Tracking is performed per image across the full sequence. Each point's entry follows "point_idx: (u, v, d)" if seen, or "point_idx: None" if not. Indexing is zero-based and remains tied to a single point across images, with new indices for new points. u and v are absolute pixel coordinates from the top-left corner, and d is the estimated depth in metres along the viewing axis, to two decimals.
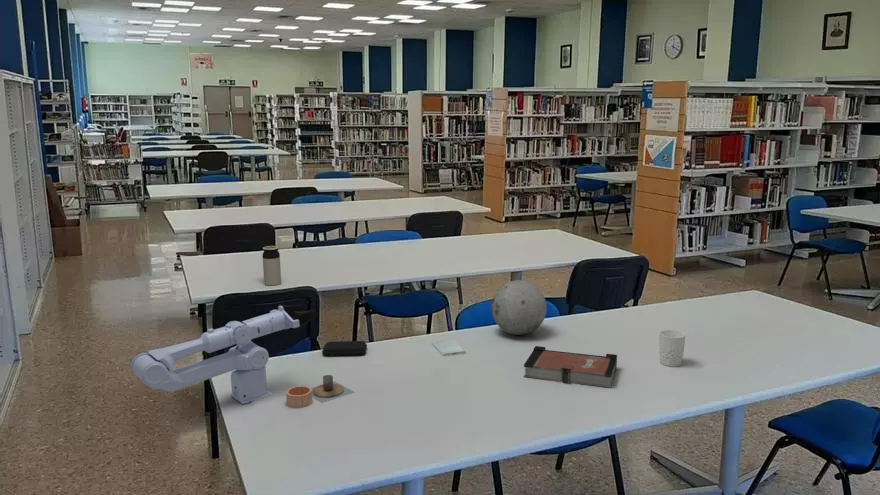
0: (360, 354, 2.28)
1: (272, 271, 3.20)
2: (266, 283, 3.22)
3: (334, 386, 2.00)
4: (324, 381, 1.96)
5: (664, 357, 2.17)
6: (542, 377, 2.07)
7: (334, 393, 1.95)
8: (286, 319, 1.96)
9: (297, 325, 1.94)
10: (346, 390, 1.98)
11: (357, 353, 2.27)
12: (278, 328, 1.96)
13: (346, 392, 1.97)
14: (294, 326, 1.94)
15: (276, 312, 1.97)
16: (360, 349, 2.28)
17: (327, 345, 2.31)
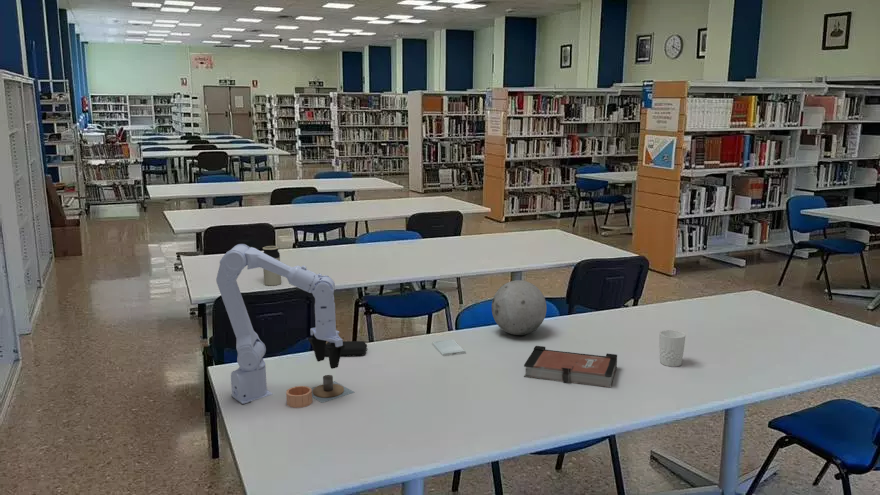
0: (359, 354, 2.27)
1: None
2: (266, 283, 3.22)
3: (334, 386, 2.00)
4: (324, 381, 1.96)
5: (664, 357, 2.17)
6: (543, 377, 2.07)
7: (334, 393, 1.95)
8: (333, 336, 1.92)
9: (338, 344, 1.89)
10: (346, 390, 1.98)
11: (357, 353, 2.27)
12: (325, 328, 1.91)
13: (346, 392, 1.97)
14: (338, 341, 1.88)
15: None
16: (360, 349, 2.27)
17: None
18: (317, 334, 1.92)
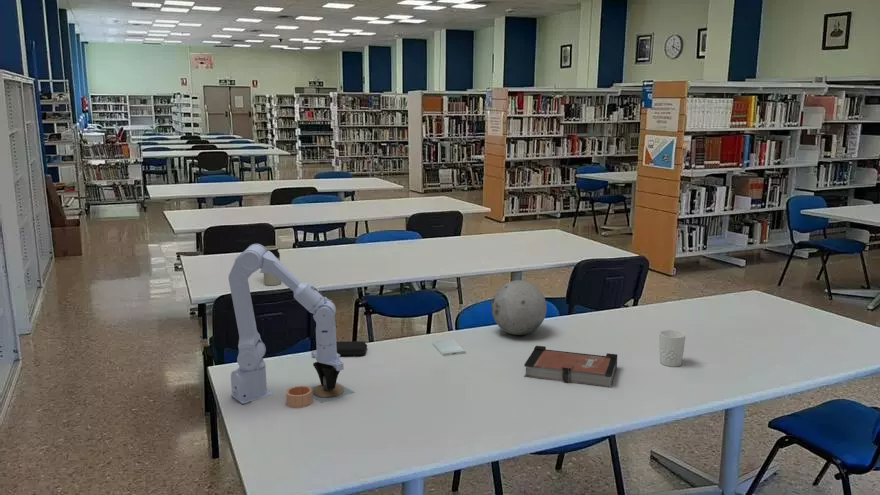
0: (359, 354, 2.27)
1: None
2: (266, 283, 3.22)
3: None
4: (324, 381, 1.96)
5: (664, 357, 2.17)
6: (543, 376, 2.07)
7: (334, 393, 1.95)
8: (334, 359, 1.94)
9: (339, 368, 1.90)
10: (346, 390, 1.98)
11: (357, 353, 2.27)
12: (326, 352, 1.92)
13: (346, 392, 1.97)
14: (338, 365, 1.90)
15: None
16: (360, 349, 2.27)
17: None
18: (318, 358, 1.94)
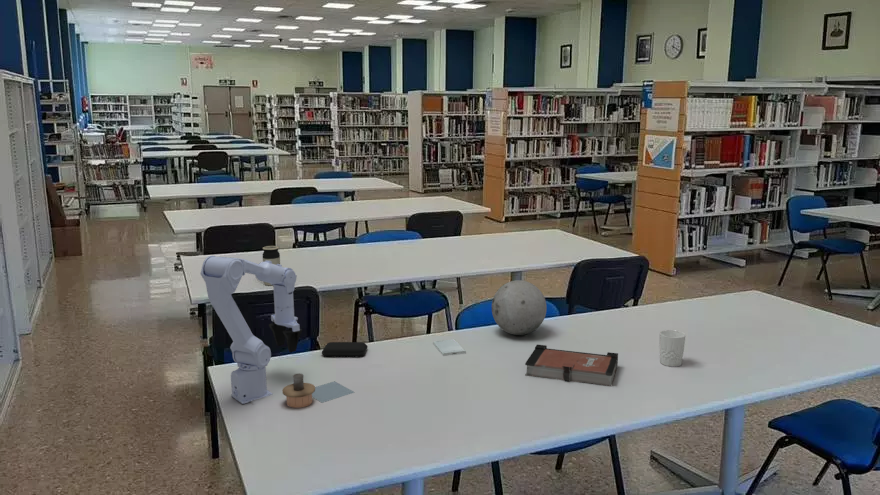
0: (359, 355, 2.26)
1: None
2: (266, 283, 3.22)
3: (305, 385, 1.92)
4: (294, 380, 1.88)
5: (664, 357, 2.17)
6: (544, 375, 2.08)
7: (304, 392, 1.87)
8: (291, 321, 2.04)
9: (295, 329, 2.01)
10: (346, 390, 1.98)
11: (356, 354, 2.26)
12: (283, 314, 2.03)
13: (346, 392, 1.97)
14: (294, 326, 2.01)
15: None
16: (359, 350, 2.26)
17: (327, 346, 2.30)
18: (276, 320, 2.04)
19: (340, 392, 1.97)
